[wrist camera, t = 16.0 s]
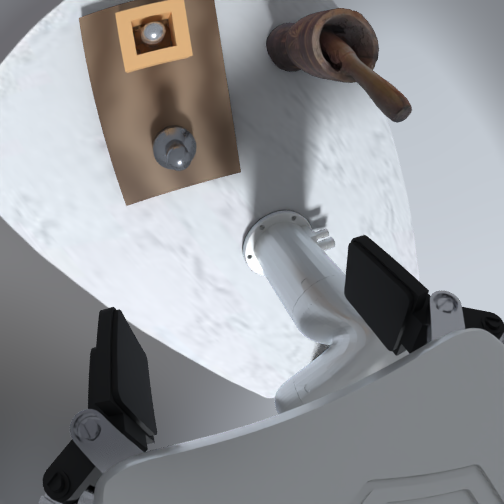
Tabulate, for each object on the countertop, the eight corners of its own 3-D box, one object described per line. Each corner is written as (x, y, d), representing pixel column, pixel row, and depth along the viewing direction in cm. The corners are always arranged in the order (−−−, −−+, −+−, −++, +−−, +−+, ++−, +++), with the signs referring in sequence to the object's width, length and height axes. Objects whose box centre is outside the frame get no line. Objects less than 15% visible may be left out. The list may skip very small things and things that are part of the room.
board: (208, -9, 25) (212, -13, 24) (236, 167, 41) (240, 172, 40) (82, 20, 22) (78, 18, 21) (126, 200, 38) (126, 205, 36)
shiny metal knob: (189, 120, 33) (199, 129, 28) (197, 158, 36) (208, 175, 31) (148, 131, 32) (149, 143, 27) (158, 170, 35) (161, 189, 30)
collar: (178, 6, 23) (183, -3, 20) (187, 58, 27) (192, 55, 24) (118, 20, 22) (115, 13, 19) (127, 72, 26) (125, 71, 23)
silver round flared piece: (170, 16, 25) (177, 2, 19) (177, 54, 28) (184, 48, 22) (126, 26, 24) (122, 14, 18) (133, 65, 27) (130, 61, 21)
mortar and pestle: (337, 72, 37) (445, 91, 22) (297, 103, 38) (398, 136, 23) (295, 11, 30) (401, -11, 15) (249, 42, 31) (340, 24, 16)
